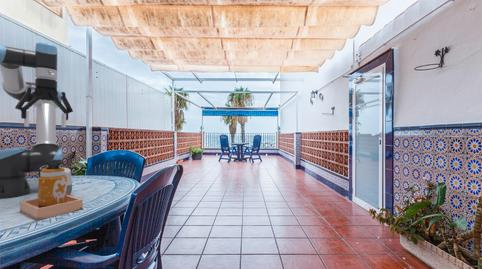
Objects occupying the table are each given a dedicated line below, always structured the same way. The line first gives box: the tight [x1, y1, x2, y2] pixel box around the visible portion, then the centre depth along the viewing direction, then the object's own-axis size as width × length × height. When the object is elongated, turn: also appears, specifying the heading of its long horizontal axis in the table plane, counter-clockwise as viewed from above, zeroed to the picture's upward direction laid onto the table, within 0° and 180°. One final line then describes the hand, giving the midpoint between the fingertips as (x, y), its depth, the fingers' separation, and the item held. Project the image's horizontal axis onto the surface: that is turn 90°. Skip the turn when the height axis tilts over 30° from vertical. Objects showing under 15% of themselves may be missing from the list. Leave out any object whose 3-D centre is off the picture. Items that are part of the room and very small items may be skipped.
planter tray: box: [19, 194, 84, 221], centre depth 96 cm, size 17×15×4 cm
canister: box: [37, 158, 67, 208], centre depth 96 cm, size 9×11×20 cm
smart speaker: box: [59, 166, 73, 196], centre depth 116 cm, size 10×9×14 cm
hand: (46, 127), depth 106 cm, fingers open, 13 cm apart
